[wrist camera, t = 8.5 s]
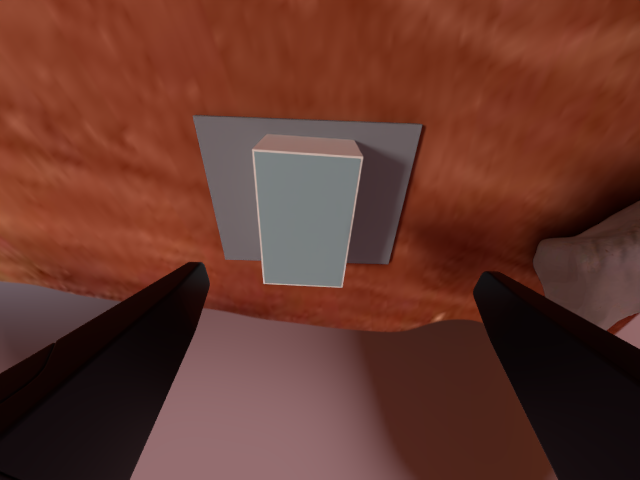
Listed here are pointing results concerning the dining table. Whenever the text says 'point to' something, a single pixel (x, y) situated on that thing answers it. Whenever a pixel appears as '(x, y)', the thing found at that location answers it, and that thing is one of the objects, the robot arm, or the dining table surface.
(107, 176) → the dining table surface
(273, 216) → the card box
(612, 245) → the ceramic sculpture
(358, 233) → the mat
